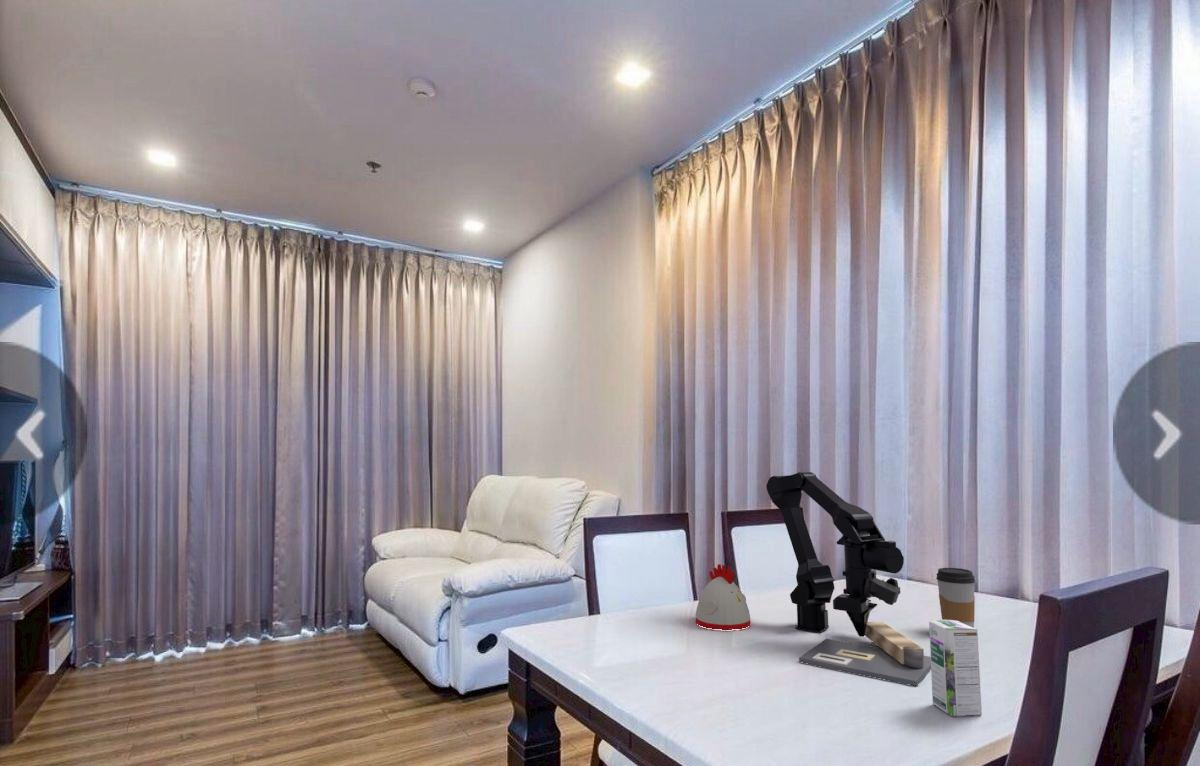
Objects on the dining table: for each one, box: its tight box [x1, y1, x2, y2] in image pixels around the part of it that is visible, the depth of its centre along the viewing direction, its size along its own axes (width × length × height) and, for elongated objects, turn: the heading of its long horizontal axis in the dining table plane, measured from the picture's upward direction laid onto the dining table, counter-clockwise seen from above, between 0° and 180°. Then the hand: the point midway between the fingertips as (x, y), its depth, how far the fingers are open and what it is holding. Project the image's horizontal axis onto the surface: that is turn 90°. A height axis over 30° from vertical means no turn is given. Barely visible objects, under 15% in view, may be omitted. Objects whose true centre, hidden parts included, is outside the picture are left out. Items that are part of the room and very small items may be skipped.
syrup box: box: [928, 619, 983, 717], centre depth 113 cm, size 6×6×14 cm
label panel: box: [798, 638, 931, 687], centre depth 137 cm, size 23×17×1 cm
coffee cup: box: [936, 567, 976, 628], centre depth 157 cm, size 8×8×15 cm
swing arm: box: [864, 621, 925, 668], centre depth 141 cm, size 22×4×3 cm, turn 179°
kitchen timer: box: [695, 563, 752, 630], centre depth 168 cm, size 14×14×15 cm
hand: (861, 636), depth 149 cm, fingers closed
